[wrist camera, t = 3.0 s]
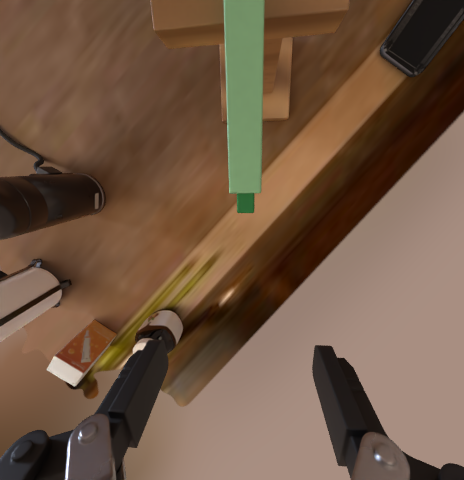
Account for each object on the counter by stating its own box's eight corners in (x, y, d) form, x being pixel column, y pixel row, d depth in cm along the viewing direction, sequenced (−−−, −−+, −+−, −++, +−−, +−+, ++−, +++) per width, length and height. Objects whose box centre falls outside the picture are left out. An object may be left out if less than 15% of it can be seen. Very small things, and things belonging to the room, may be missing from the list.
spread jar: (178, 304, 57) (159, 337, 46) (194, 337, 60) (180, 375, 49) (140, 313, 59) (113, 346, 48) (157, 344, 62) (135, 382, 51)
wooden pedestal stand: (286, 126, 40) (371, 7, 10) (224, 129, 42) (135, 32, 12) (291, 32, 36) (469, -679, 6) (221, 39, 37) (62, -499, 7)
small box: (118, 333, 63) (84, 374, 50) (109, 346, 65) (74, 387, 52) (94, 318, 62) (53, 355, 50) (86, 331, 64) (45, 370, 52)
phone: (380, 49, 34) (463, -71, 29) (376, 52, 35) (455, -62, 30) (418, 77, 35) (506, -35, 30) (413, 80, 36) (497, -28, 31)
